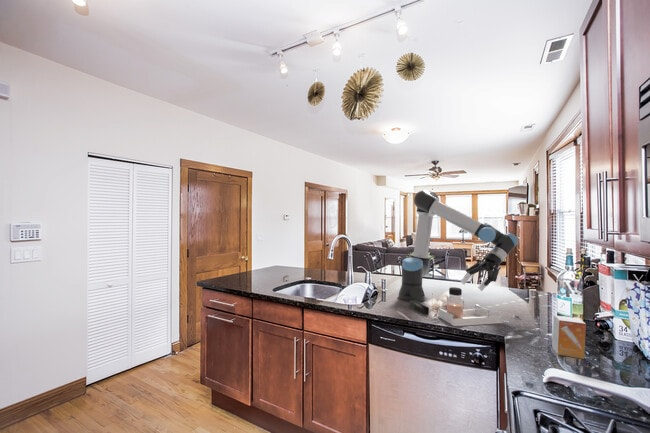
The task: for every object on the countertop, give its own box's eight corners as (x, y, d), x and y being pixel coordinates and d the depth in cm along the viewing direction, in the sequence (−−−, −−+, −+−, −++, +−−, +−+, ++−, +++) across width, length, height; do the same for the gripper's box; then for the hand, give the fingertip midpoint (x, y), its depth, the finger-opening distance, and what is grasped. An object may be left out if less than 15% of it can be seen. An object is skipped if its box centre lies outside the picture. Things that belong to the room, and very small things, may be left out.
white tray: (436, 317, 149) (436, 307, 149) (481, 314, 155) (481, 304, 155) (454, 328, 136) (454, 317, 135) (502, 324, 141) (503, 314, 141)
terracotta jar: (443, 317, 146) (443, 303, 146) (456, 316, 148) (456, 302, 148) (452, 322, 139) (452, 307, 139) (465, 322, 141) (466, 307, 141)
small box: (557, 355, 112) (558, 319, 111) (551, 348, 118) (553, 314, 117) (584, 359, 109) (586, 323, 108) (577, 352, 115) (579, 317, 114)
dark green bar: (430, 306, 151) (410, 297, 165) (425, 307, 150) (406, 298, 164) (429, 316, 151) (410, 306, 165) (424, 317, 150) (405, 307, 164)
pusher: (474, 314, 151) (475, 304, 151) (482, 314, 152) (482, 304, 152) (487, 320, 142) (487, 310, 142) (495, 320, 143) (495, 309, 143)
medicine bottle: (463, 313, 156) (464, 290, 156) (448, 312, 158) (449, 289, 158) (460, 308, 163) (461, 286, 163) (446, 307, 165) (446, 285, 164)
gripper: (518, 266, 153) (492, 297, 150) (482, 258, 177) (459, 285, 174) (510, 255, 152) (483, 287, 149) (475, 249, 176) (451, 276, 173)
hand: (470, 286), depth 162 cm, fingers open, 13 cm apart
